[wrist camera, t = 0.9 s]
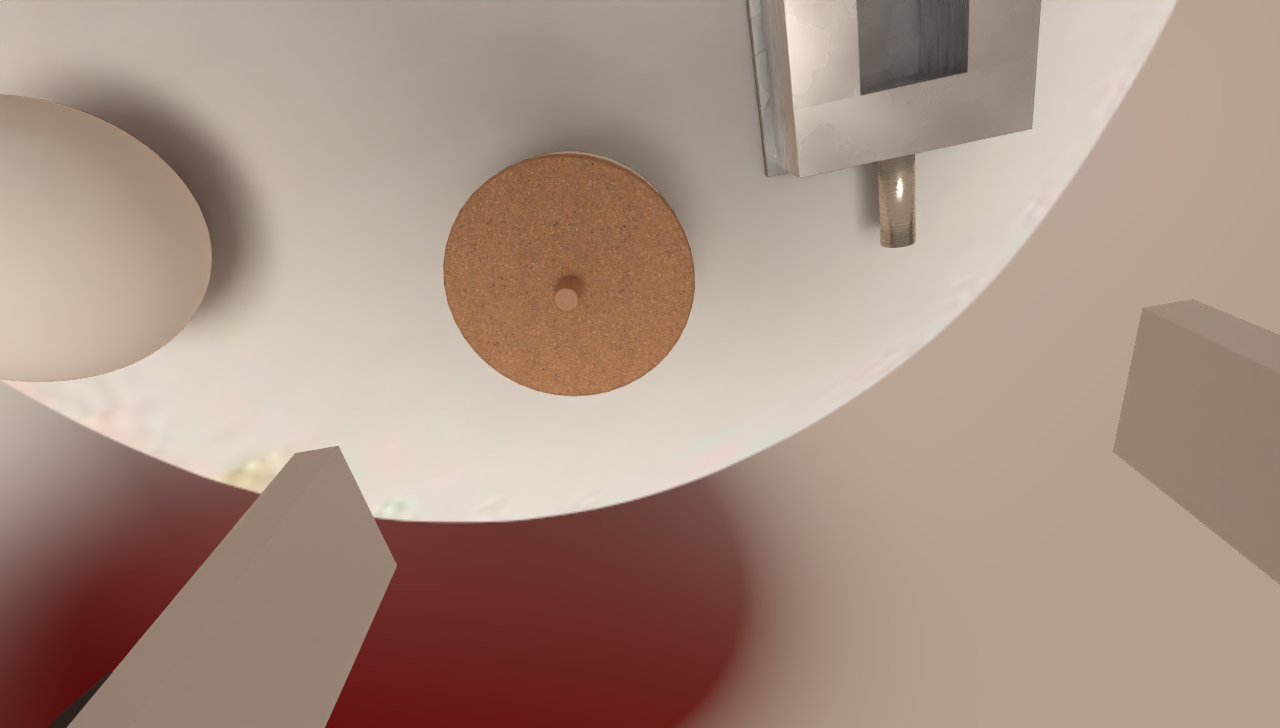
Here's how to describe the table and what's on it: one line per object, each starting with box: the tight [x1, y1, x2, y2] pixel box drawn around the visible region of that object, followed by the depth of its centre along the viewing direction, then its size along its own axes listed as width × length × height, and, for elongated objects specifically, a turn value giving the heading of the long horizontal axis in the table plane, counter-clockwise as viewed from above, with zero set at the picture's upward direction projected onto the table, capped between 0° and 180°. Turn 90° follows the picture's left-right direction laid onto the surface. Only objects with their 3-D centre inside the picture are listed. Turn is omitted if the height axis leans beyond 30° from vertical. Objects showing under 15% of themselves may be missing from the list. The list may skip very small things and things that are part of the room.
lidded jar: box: [443, 151, 695, 396], centre depth 29 cm, size 11×11×9 cm
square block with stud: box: [747, 0, 1041, 248], centre depth 27 cm, size 15×11×5 cm
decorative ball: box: [0, 94, 212, 382], centre depth 26 cm, size 12×12×12 cm
